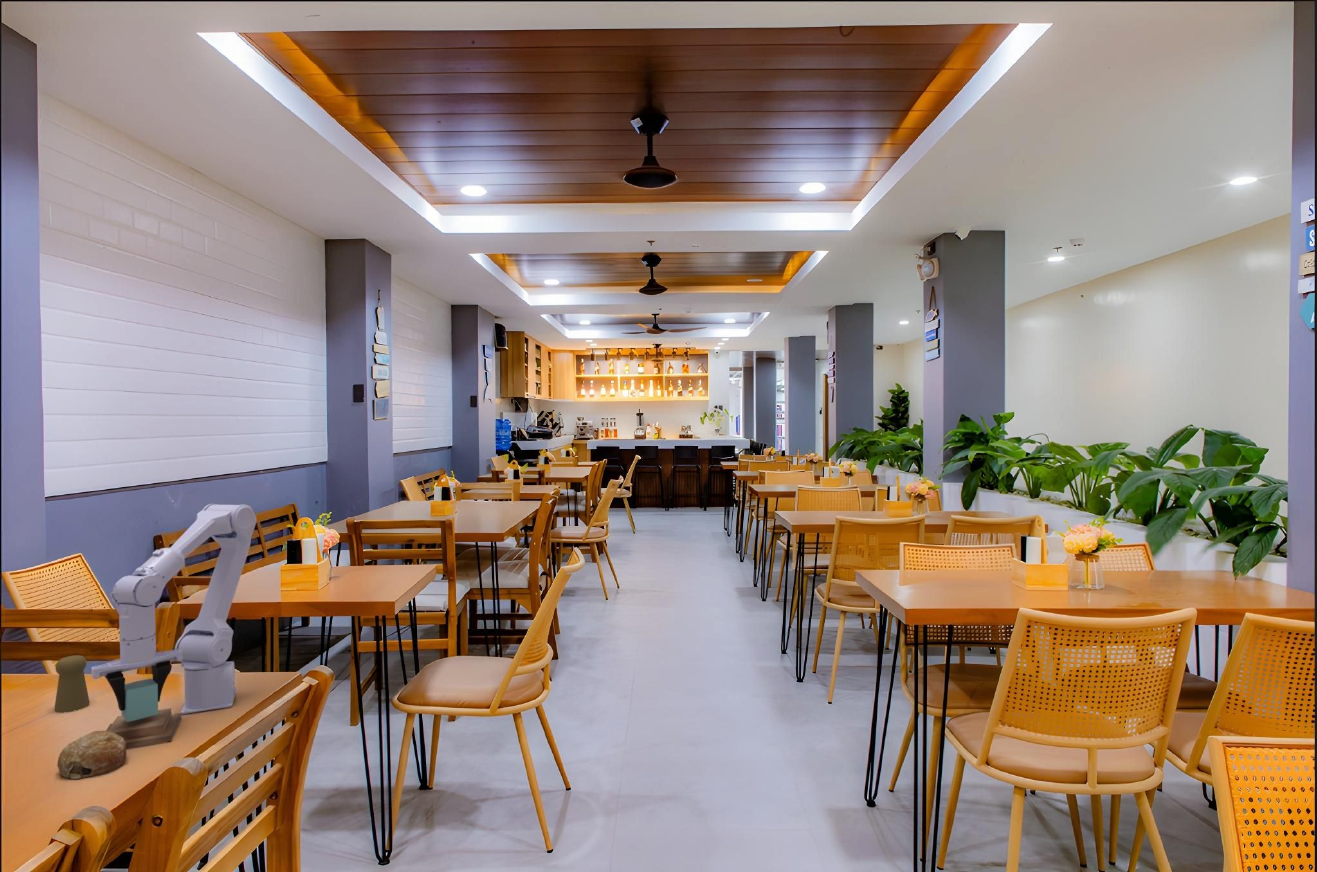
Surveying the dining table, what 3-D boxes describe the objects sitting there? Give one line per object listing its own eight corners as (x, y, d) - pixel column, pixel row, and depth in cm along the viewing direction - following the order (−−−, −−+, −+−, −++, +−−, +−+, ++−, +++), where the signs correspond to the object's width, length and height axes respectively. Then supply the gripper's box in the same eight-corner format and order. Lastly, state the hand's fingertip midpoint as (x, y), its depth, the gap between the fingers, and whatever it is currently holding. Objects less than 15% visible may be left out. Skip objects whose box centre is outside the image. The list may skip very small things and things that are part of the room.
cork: (69, 713, 153) (68, 662, 153) (46, 711, 155) (45, 660, 154) (97, 702, 159) (95, 653, 159) (74, 700, 160) (73, 651, 160)
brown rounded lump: (53, 800, 125) (44, 768, 122) (71, 753, 134) (63, 721, 130) (122, 788, 129) (116, 756, 126) (135, 743, 137) (129, 712, 134)
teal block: (151, 707, 146) (151, 678, 146) (158, 714, 142) (157, 684, 142) (121, 714, 142) (120, 684, 142) (127, 722, 139) (126, 691, 138)
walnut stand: (181, 718, 150) (180, 704, 150) (170, 741, 140) (170, 726, 139) (110, 729, 145) (110, 714, 145) (94, 754, 134) (93, 738, 134)
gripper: (175, 624, 150) (176, 689, 150) (87, 640, 139) (89, 710, 140) (185, 631, 145) (186, 698, 145) (94, 648, 135) (96, 720, 135)
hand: (139, 704), depth 142 cm, fingers closed on teal block, 5 cm apart
